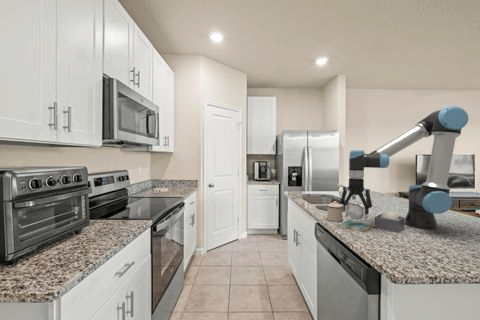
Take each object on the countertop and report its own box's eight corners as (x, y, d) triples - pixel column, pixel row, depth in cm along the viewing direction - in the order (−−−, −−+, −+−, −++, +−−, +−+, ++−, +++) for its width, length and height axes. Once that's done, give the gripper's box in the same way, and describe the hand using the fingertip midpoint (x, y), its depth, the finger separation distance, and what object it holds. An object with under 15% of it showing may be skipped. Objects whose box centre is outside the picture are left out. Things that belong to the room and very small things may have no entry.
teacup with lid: (345, 221, 152) (346, 202, 151) (331, 222, 150) (332, 202, 150) (335, 216, 163) (335, 199, 163) (321, 217, 162) (322, 199, 162)
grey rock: (362, 222, 135) (369, 207, 138) (348, 214, 136) (355, 199, 139) (356, 224, 142) (362, 209, 145) (342, 216, 144) (348, 201, 147)
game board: (373, 226, 141) (373, 224, 141) (364, 232, 131) (364, 229, 131) (347, 222, 151) (347, 219, 151) (337, 226, 141) (337, 224, 141)
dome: (401, 226, 139) (401, 210, 139) (396, 229, 132) (397, 213, 132) (382, 223, 145) (382, 208, 145) (377, 226, 139) (377, 210, 139)
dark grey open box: (404, 228, 139) (404, 217, 139) (398, 232, 131) (399, 221, 131) (381, 224, 147) (381, 213, 147) (374, 228, 139) (374, 217, 139)
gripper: (334, 177, 145) (333, 215, 146) (375, 180, 130) (374, 223, 130) (339, 176, 151) (338, 213, 151) (380, 179, 135) (379, 220, 136)
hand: (355, 218), depth 141 cm, fingers closed on grey rock, 9 cm apart
